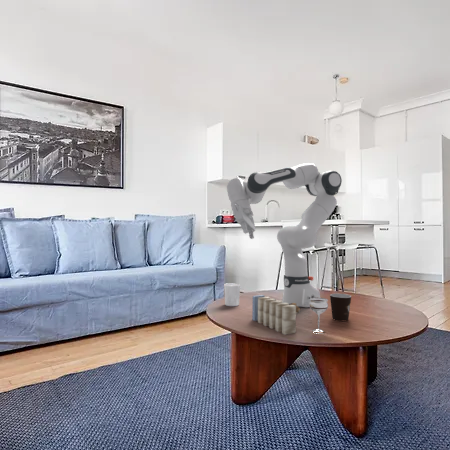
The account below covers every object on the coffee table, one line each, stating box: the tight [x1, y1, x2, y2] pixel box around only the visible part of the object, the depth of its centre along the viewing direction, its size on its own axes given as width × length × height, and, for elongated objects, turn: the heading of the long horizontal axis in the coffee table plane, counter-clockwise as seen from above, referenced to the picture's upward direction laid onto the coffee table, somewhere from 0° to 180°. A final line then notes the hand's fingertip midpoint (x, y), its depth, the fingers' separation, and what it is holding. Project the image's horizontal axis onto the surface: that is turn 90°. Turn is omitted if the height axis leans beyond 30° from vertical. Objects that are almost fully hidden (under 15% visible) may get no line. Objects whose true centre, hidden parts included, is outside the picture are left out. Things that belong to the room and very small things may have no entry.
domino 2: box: [257, 296, 271, 324], centre depth 142 cm, size 5×2×10 cm, turn 118°
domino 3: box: [262, 298, 277, 327], centre depth 138 cm, size 5×2×10 cm, turn 118°
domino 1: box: [251, 294, 266, 322], centre depth 145 cm, size 5×2×10 cm, turn 118°
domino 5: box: [274, 303, 289, 332], centre depth 131 cm, size 5×2×10 cm, turn 118°
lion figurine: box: [289, 303, 301, 314], centre depth 142 cm, size 15×5×9 cm, turn 13°
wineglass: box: [309, 297, 329, 333], centre depth 130 cm, size 7×7×12 cm
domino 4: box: [268, 300, 282, 330], centre depth 135 cm, size 5×2×10 cm, turn 118°
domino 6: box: [281, 305, 297, 335], centre depth 128 cm, size 5×2×10 cm, turn 118°
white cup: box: [223, 282, 241, 307], centre depth 171 cm, size 8×8×10 cm
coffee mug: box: [329, 293, 352, 321], centre depth 148 cm, size 12×9×10 cm
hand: (249, 235), depth 160 cm, fingers open, 8 cm apart
